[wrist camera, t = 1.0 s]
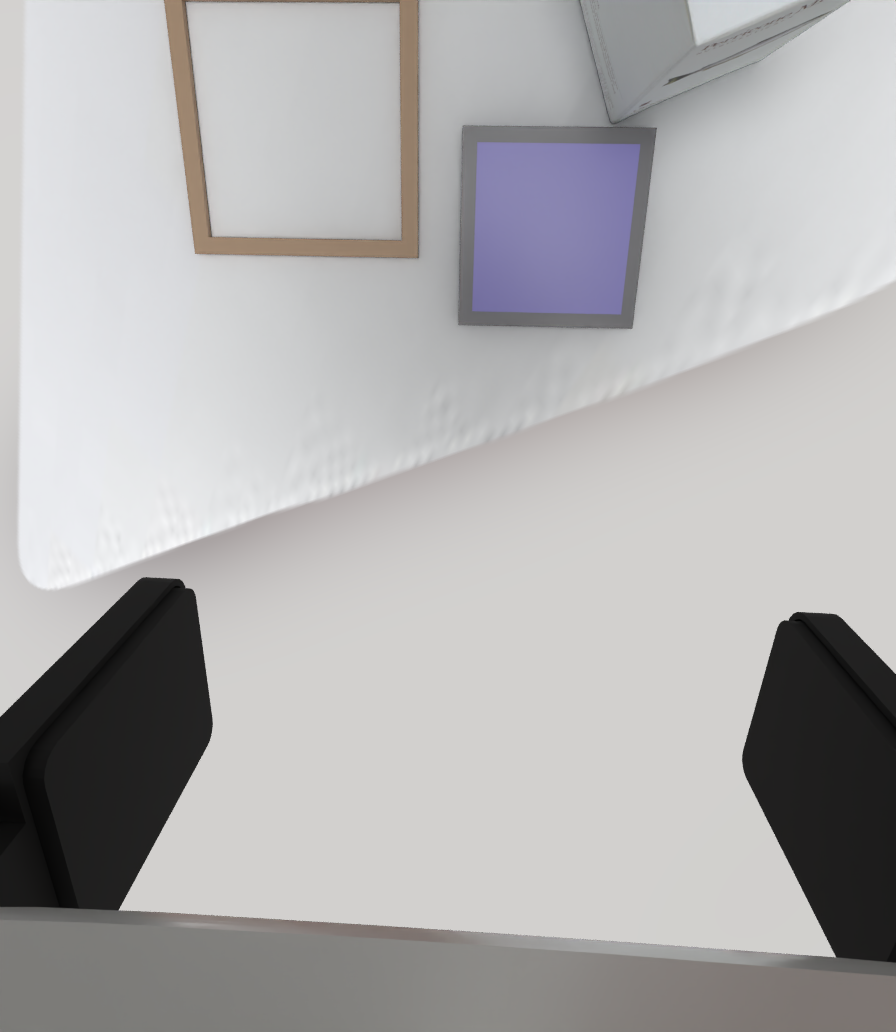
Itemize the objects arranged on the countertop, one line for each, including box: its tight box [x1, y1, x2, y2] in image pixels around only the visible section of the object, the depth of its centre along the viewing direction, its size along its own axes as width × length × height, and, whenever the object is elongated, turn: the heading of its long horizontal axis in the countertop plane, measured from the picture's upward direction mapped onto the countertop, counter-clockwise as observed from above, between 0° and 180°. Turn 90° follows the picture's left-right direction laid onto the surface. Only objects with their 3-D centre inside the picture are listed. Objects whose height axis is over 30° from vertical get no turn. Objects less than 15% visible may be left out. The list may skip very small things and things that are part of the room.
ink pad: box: [458, 126, 657, 329], centre depth 32 cm, size 9×9×1 cm
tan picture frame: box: [164, 0, 418, 258], centre depth 31 cm, size 12×12×1 cm
